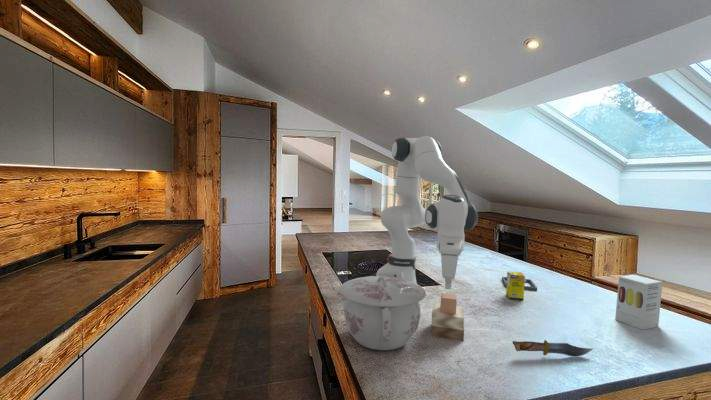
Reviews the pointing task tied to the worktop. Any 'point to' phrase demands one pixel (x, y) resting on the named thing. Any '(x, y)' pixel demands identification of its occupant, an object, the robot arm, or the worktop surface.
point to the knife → (551, 348)
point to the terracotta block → (448, 303)
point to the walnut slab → (448, 333)
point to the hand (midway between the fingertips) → (448, 283)
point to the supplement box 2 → (638, 301)
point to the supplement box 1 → (515, 285)
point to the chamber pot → (382, 310)
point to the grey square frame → (524, 286)
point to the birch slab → (448, 318)
